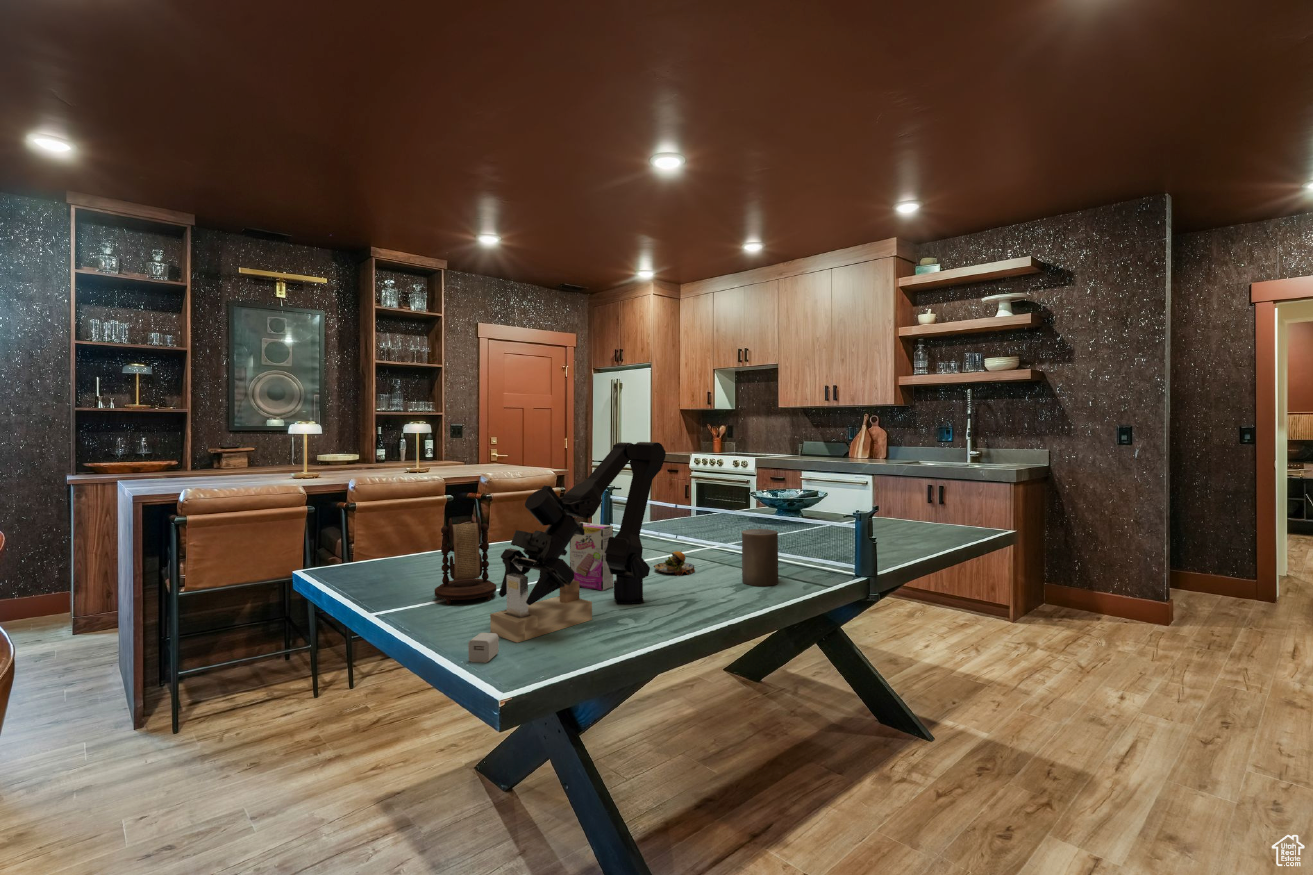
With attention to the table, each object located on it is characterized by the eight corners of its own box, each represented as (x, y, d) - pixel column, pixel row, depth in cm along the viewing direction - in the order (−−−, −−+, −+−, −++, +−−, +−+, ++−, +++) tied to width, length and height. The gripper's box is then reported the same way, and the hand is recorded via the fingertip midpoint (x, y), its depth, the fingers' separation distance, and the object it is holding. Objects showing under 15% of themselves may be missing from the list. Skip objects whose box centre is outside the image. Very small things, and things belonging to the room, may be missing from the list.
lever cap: (515, 630, 141) (515, 573, 140) (529, 634, 138) (528, 576, 137) (506, 632, 139) (505, 575, 138) (519, 637, 136) (519, 578, 135)
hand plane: (565, 612, 153) (564, 577, 153) (592, 619, 147) (591, 583, 147) (490, 633, 139) (490, 594, 138) (517, 642, 133) (516, 602, 132)
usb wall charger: (468, 661, 123) (468, 639, 122) (484, 648, 129) (483, 628, 129) (489, 662, 122) (489, 640, 122) (503, 649, 129) (503, 629, 129)
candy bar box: (568, 586, 178) (568, 524, 177) (580, 582, 182) (580, 521, 181) (602, 591, 172) (602, 527, 171) (614, 587, 176) (613, 524, 175)
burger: (654, 567, 200) (654, 542, 200) (694, 567, 200) (694, 542, 200) (653, 577, 188) (652, 550, 188) (695, 577, 188) (695, 550, 188)
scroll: (438, 609, 157) (436, 523, 156) (431, 594, 170) (430, 515, 170) (501, 601, 163) (500, 519, 162) (490, 587, 176) (489, 511, 176)
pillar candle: (781, 586, 176) (781, 529, 175) (743, 586, 176) (743, 529, 175) (775, 577, 185) (775, 523, 185) (739, 577, 185) (739, 523, 185)
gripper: (507, 511, 147) (463, 570, 139) (563, 519, 135) (518, 584, 127) (536, 542, 153) (496, 600, 145) (592, 553, 141) (551, 616, 133)
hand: (513, 599), depth 137 cm, fingers open, 9 cm apart
